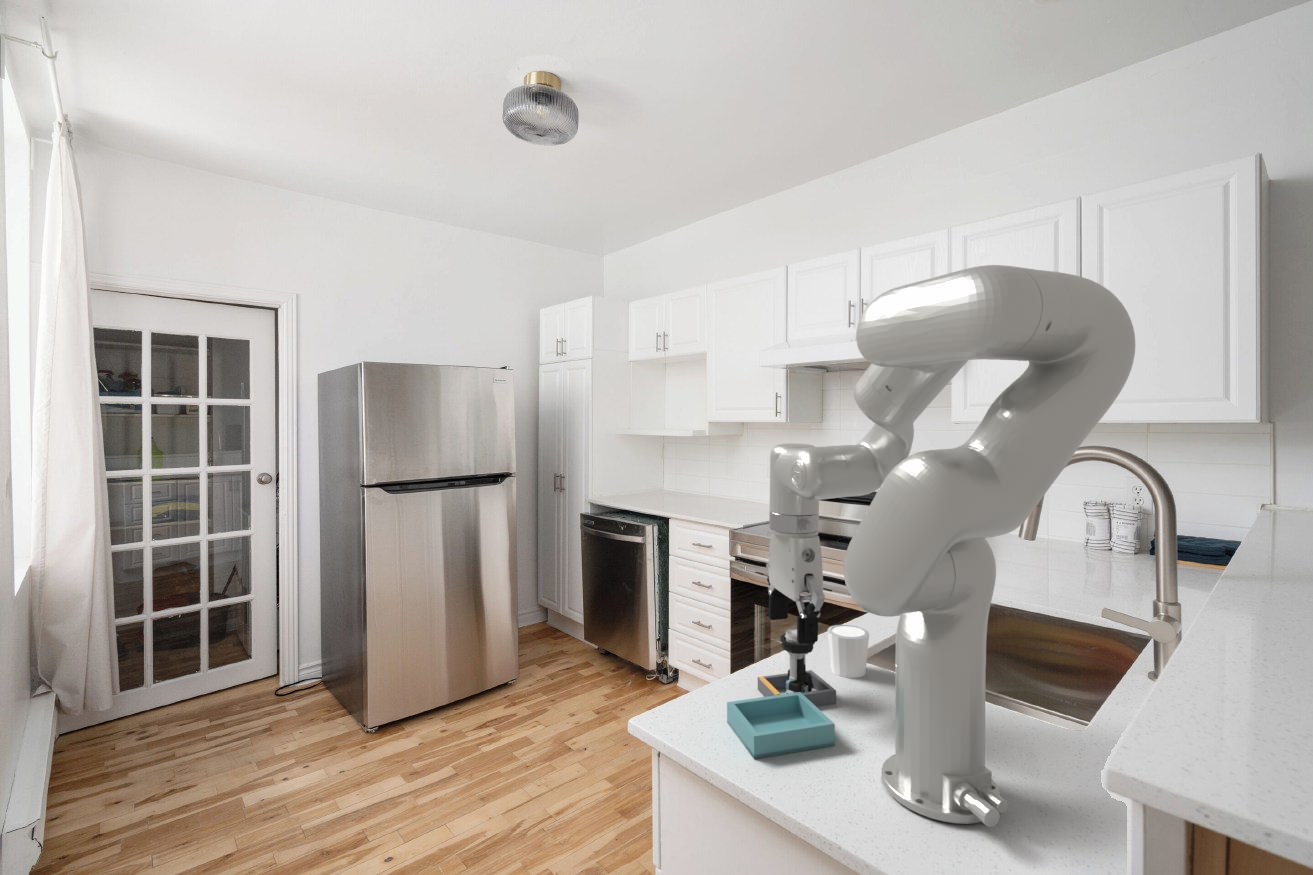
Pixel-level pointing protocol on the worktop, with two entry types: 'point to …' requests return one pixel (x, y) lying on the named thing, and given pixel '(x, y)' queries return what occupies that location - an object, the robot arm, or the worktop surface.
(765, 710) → the tray
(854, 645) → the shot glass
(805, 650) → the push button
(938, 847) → the worktop surface
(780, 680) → the box
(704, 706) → the worktop surface
